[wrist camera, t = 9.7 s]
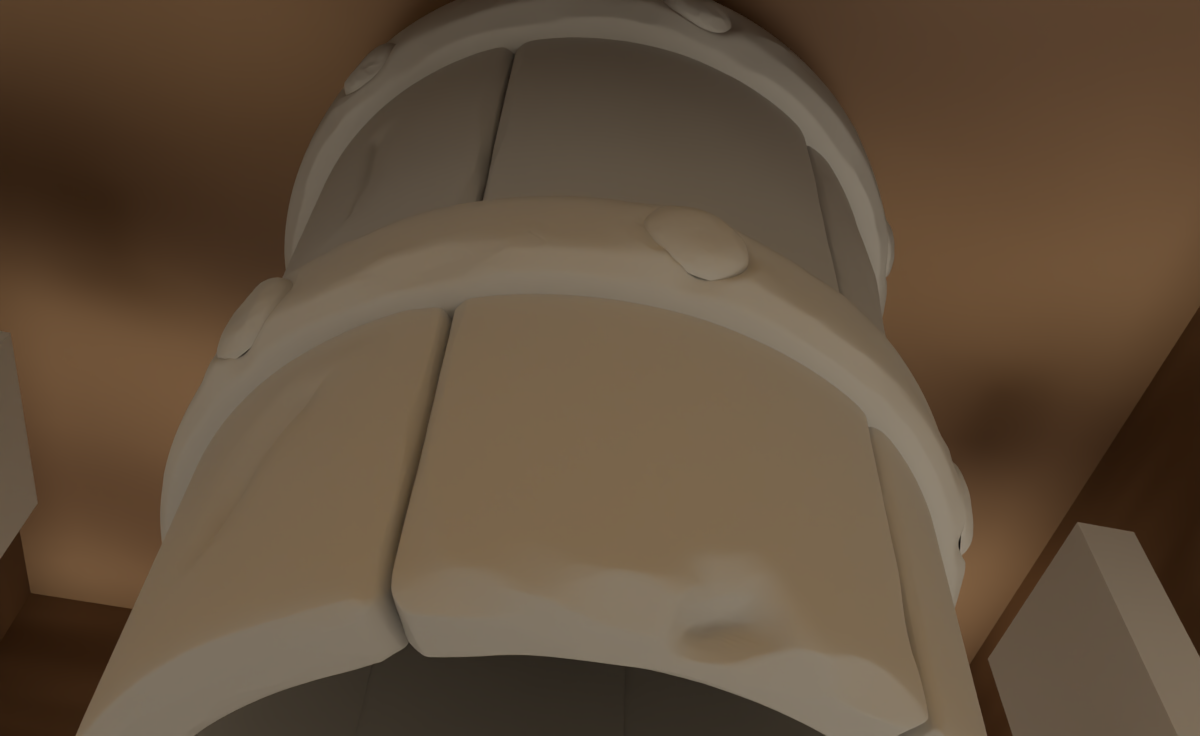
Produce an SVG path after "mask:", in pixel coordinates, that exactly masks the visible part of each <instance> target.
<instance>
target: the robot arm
mask: <svg viewBox="0 0 1200 736" xmlns="http://www.w3.org/2000/svg"><path fill="white" fill-rule="evenodd" d="M37 504H38V502H37V495H36V489H35V483H34V476H33V470H32V464H31V458H30V451H29V445H28V439H27V433H26V426H25V420H24V414H23V408H22V401H21V395H20V389H19V382H18V376H17V370H16V364H15V357H14V351H13V345H12V339H11V333H8V332H3V331H0V558H1V557H2V556H3V554H4V553H5V551H6V550H7V548H8V547H9V545H10V544H11V542H12V541H13V539H14V538H15V536H16V535H17V533H18V532H19V530H20V529H21V527H22V526H23V524H24V523H25V521H26V520H27V518H28V517H29V515H30V514H31V513H32V511H33V510H34V508H35V507H36V505H37ZM988 661H989V664H990V667H991V670H992V673H993V676H994V679H995V682H996V686H997V689H998V692H999V695H1000V698H1001V701H1002V704H1003V707H1004V710H1005V713H1006V716H1007V719H1008V723H1009V726H1010V729H1011V732H1012V735H1013V736H1200V657H1199V655H1198V653H1197V651H1196V649H1195V647H1194V645H1193V643H1192V642H1191V640H1190V638H1189V636H1188V634H1187V632H1186V630H1185V628H1184V626H1183V624H1182V622H1181V621H1180V619H1179V617H1178V615H1177V613H1176V611H1175V609H1174V607H1173V605H1172V603H1171V602H1170V600H1169V598H1168V596H1167V594H1166V592H1165V590H1164V588H1163V586H1162V584H1161V583H1160V581H1159V579H1158V577H1157V575H1156V573H1155V571H1154V569H1153V567H1152V565H1151V564H1150V562H1149V560H1148V558H1147V556H1146V554H1145V552H1144V550H1143V548H1142V546H1141V545H1140V543H1139V541H1138V539H1137V537H1136V535H1135V533H1134V532H1131V531H1125V530H1120V529H1114V528H1108V527H1103V526H1097V525H1092V524H1086V523H1080V522H1077V523H1076V525H1075V526H1074V528H1073V529H1072V531H1071V533H1070V534H1069V536H1068V537H1067V539H1066V540H1065V542H1064V543H1063V545H1062V546H1061V548H1060V549H1059V551H1058V552H1057V554H1056V555H1055V557H1054V558H1053V560H1052V562H1051V563H1050V565H1049V566H1048V568H1047V569H1046V571H1045V572H1044V574H1043V575H1042V577H1041V578H1040V580H1039V581H1038V583H1037V584H1036V586H1035V587H1034V589H1033V591H1032V592H1031V594H1030V595H1029V597H1028V598H1027V600H1026V601H1025V603H1024V604H1023V606H1022V607H1021V609H1020V610H1019V612H1018V613H1017V615H1016V616H1015V618H1014V620H1013V621H1012V623H1011V624H1010V626H1009V627H1008V629H1007V630H1006V632H1005V633H1004V635H1003V636H1002V638H1001V639H1000V641H999V642H998V644H997V645H996V647H995V649H994V650H993V652H992V653H991V655H990V656H989V658H988Z"/></svg>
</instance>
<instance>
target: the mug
mask: <svg viewBox="0 0 1200 736" xmlns="http://www.w3.org/2000/svg"><path fill="white" fill-rule="evenodd" d="M284 254H285V267H286V271H285V273H284V275H283V277H282V278H279V277H276V278H270V279H267V280H265V281H263V282H261V283H260V284H259V285H258V286H257V287H256V288H255V289H254V290H253V292H252V293H251V294H250V295H249V296H248V297H247V298H246V300H245V301H244V302H243V303H242V304H241V306H240V307H239V308H238V309H237V310H236V312H235V313H234V314H233V316H232V317H231V319H230V320H229V322H228V324H227V325H226V327H225V329H224V331H223V333H222V335H221V337H220V341H219V344H218V347H217V353H216V355H215V356H214V358H213V359H212V361H211V362H210V364H209V366H208V368H207V371H206V373H205V376H204V378H203V381H202V383H201V385H200V387H199V388H198V390H197V392H196V394H195V395H194V397H193V399H192V401H191V403H190V404H189V406H188V408H187V410H186V412H185V414H184V416H183V418H182V421H181V423H180V425H179V427H178V430H177V432H176V435H175V437H174V440H173V443H172V446H171V449H170V452H169V455H168V459H167V463H166V467H165V471H164V477H163V487H162V494H161V506H160V525H161V539H162V545H161V547H160V549H159V551H158V554H157V556H156V558H155V560H154V562H153V565H152V567H151V569H150V571H149V574H148V576H147V578H146V580H145V582H144V585H143V587H142V589H141V591H140V593H139V596H138V598H137V600H136V602H135V604H134V607H133V609H132V611H131V613H130V616H129V618H128V620H127V622H126V624H125V627H124V629H123V631H122V633H121V635H120V638H119V640H118V642H117V644H116V646H115V649H114V651H113V653H112V655H111V658H110V660H109V662H108V664H107V666H106V669H105V671H104V673H103V675H102V677H101V680H100V682H99V684H98V686H97V688H96V691H95V693H94V695H93V697H92V700H91V702H90V704H89V706H88V708H87V711H86V713H85V715H84V717H83V720H82V722H81V724H80V726H79V729H78V731H77V734H76V736H987V733H986V729H985V725H984V721H983V717H982V713H981V709H980V706H979V702H978V698H977V694H976V690H975V686H974V682H973V678H972V674H971V670H970V666H969V662H968V658H967V655H966V651H965V647H964V643H963V639H962V635H961V631H960V627H959V623H958V619H957V615H956V611H955V606H956V603H957V599H958V596H959V592H960V588H961V585H962V581H963V577H964V573H965V560H964V559H963V557H962V555H963V554H964V553H965V552H966V551H967V549H968V548H969V546H970V544H971V542H972V538H973V514H972V507H971V499H970V494H969V490H968V487H967V485H966V482H965V480H964V477H963V475H962V473H961V471H960V469H959V468H958V466H957V465H956V464H955V463H953V462H952V458H951V455H950V451H949V448H948V446H947V445H946V443H945V441H944V440H943V438H942V436H941V434H940V432H939V430H938V427H937V425H936V422H935V419H934V417H933V414H932V412H931V410H930V407H929V405H928V403H927V401H926V399H925V397H924V395H923V393H922V391H921V389H920V387H919V385H918V383H917V382H916V380H915V378H914V376H913V375H912V373H911V372H910V370H909V368H908V367H907V365H906V364H905V362H904V361H903V359H902V358H901V356H900V355H899V353H898V352H897V351H896V349H895V348H894V347H893V345H892V344H891V343H890V342H889V341H888V339H887V338H886V335H885V330H884V325H883V319H882V318H883V313H884V308H885V302H886V296H887V281H886V277H887V276H888V275H889V273H890V271H891V269H892V265H893V261H894V237H893V232H892V229H891V226H890V225H889V223H888V221H887V220H886V217H885V213H884V209H883V204H882V200H881V196H880V192H879V189H878V185H877V182H876V178H875V175H874V173H873V170H872V167H871V164H870V162H869V159H868V157H867V154H866V152H865V150H864V147H863V145H862V143H861V140H860V138H859V136H858V134H857V131H856V129H855V128H854V126H853V125H852V123H851V121H850V120H849V118H848V116H847V115H846V113H845V111H844V110H843V108H842V107H841V105H840V104H839V102H838V101H837V99H836V98H835V97H834V95H833V94H832V93H831V91H830V90H829V89H828V88H827V87H826V85H825V84H824V83H823V82H822V81H821V80H820V78H819V77H818V76H817V75H816V74H815V73H814V72H813V71H812V70H811V69H810V68H809V67H808V66H807V65H806V64H805V63H804V62H803V61H802V60H801V59H800V58H799V57H798V56H797V55H796V54H795V53H794V52H793V51H792V50H790V49H789V48H788V47H787V46H786V45H784V44H783V43H782V42H781V41H779V40H778V39H777V38H775V37H774V36H773V35H771V34H770V33H769V32H767V31H766V30H764V29H763V28H761V27H760V26H758V25H757V24H755V23H754V22H752V21H750V20H749V19H747V18H746V17H744V16H742V15H740V14H738V13H737V12H735V11H733V10H731V9H729V8H727V7H725V6H723V5H721V4H719V3H716V2H715V1H713V0H455V1H453V2H450V3H448V4H446V5H444V6H442V7H440V8H438V9H436V10H434V11H432V12H431V13H429V14H427V15H425V16H424V17H422V18H420V19H419V20H417V21H415V22H414V23H412V24H411V25H409V26H408V27H406V28H405V29H403V30H402V31H401V32H399V33H398V34H397V35H395V36H394V37H393V38H392V39H390V40H389V41H388V42H387V43H385V44H382V45H380V46H378V47H376V48H375V49H374V50H372V51H371V52H370V53H369V54H368V55H367V56H366V57H365V58H364V59H363V61H362V62H361V63H360V64H359V65H358V67H357V68H356V69H355V70H354V71H353V72H352V73H351V74H350V76H349V77H348V78H347V80H346V81H345V83H344V87H343V89H342V90H341V92H340V93H339V94H338V96H337V97H336V99H335V100H334V102H333V103H332V104H331V106H330V108H329V109H328V111H327V112H326V114H325V115H324V117H323V119H322V121H321V122H320V124H319V126H318V128H317V130H316V132H315V133H314V135H313V137H312V139H311V142H310V144H309V146H308V148H307V150H306V153H305V155H304V157H303V160H302V163H301V165H300V168H299V171H298V174H297V177H296V180H295V183H294V186H293V190H292V194H291V198H290V203H289V208H288V214H287V221H286V229H285V246H284Z"/></svg>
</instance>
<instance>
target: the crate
mask: <svg viewBox="0 0 1200 736" xmlns="http://www.w3.org/2000/svg"><path fill="white" fill-rule="evenodd" d="M453 1H455V0H0V331H3V332H8V333H11V339H12V345H13V351H14V357H15V364H16V370H17V376H18V382H19V389H20V395H21V401H22V408H23V414H24V420H25V426H26V433H27V439H28V445H29V451H30V458H31V464H32V470H33V476H34V483H35V489H36V495H37V502H38V504H37V505H36V507H35V508H34V510H33V511H32V513H31V514H30V515H29V517H28V518H27V520H26V521H25V523H24V524H23V526H22V527H21V529H20V530H19V532H18V533H17V535H16V536H15V538H14V539H13V541H12V542H11V544H10V545H9V547H8V548H7V550H6V551H5V553H4V554H3V556H2V557H1V558H0V736H76V734H77V731H78V729H79V726H80V724H81V722H82V720H83V717H84V715H85V713H86V711H87V708H88V706H89V704H90V702H91V700H92V697H93V695H94V693H95V691H96V688H97V686H98V684H99V682H100V680H101V677H102V675H103V673H104V671H105V669H106V666H107V664H108V662H109V660H110V658H111V655H112V653H113V651H114V649H115V646H116V644H117V642H118V640H119V638H120V635H121V633H122V631H123V629H124V627H125V624H126V622H127V620H128V618H129V616H130V613H131V611H132V609H133V607H134V604H135V602H136V600H137V598H138V596H139V593H140V591H141V589H142V587H143V585H144V582H145V580H146V578H147V576H148V574H149V571H150V569H151V567H152V565H153V562H154V560H155V558H156V556H157V554H158V551H159V549H160V547H161V545H162V539H161V525H160V506H161V494H162V487H163V477H164V471H165V467H166V463H167V459H168V455H169V452H170V449H171V446H172V443H173V440H174V437H175V435H176V432H177V430H178V427H179V425H180V423H181V421H182V418H183V416H184V414H185V412H186V410H187V408H188V406H189V404H190V403H191V401H192V399H193V397H194V395H195V394H196V392H197V390H198V388H199V387H200V385H201V383H202V381H203V378H204V376H205V373H206V371H207V368H208V366H209V364H210V362H211V361H212V359H213V358H214V356H215V355H216V353H217V347H218V344H219V341H220V337H221V335H222V333H223V331H224V329H225V327H226V325H227V324H228V322H229V320H230V319H231V317H232V316H233V314H234V313H235V312H236V310H237V309H238V308H239V307H240V306H241V304H242V303H243V302H244V301H245V300H246V298H247V297H248V296H249V295H250V294H251V293H252V292H253V290H254V289H255V288H256V287H257V286H258V285H259V284H260V283H261V282H263V281H265V280H267V279H270V278H276V277H279V278H282V277H283V275H284V273H285V271H286V267H285V254H284V246H285V229H286V221H287V214H288V208H289V203H290V198H291V194H292V190H293V186H294V183H295V180H296V177H297V174H298V171H299V168H300V165H301V163H302V160H303V157H304V155H305V153H306V150H307V148H308V146H309V144H310V142H311V139H312V137H313V135H314V133H315V132H316V130H317V128H318V126H319V124H320V122H321V121H322V119H323V117H324V115H325V114H326V112H327V111H328V109H329V108H330V106H331V104H332V103H333V102H334V100H335V99H336V97H337V96H338V94H339V93H340V92H341V90H342V89H343V87H344V83H345V81H346V80H347V78H348V77H349V76H350V74H351V73H352V72H353V71H354V70H355V69H356V68H357V67H358V65H359V64H360V63H361V62H362V61H363V59H364V58H365V57H366V56H367V55H368V54H369V53H370V52H371V51H372V50H374V49H375V48H376V47H378V46H380V45H382V44H385V43H387V42H388V41H389V40H390V39H392V38H393V37H394V36H395V35H397V34H398V33H399V32H401V31H402V30H403V29H405V28H406V27H408V26H409V25H411V24H412V23H414V22H415V21H417V20H419V19H420V18H422V17H424V16H425V15H427V14H429V13H431V12H432V11H434V10H436V9H438V8H440V7H442V6H444V5H446V4H448V3H450V2H453ZM713 1H715V2H716V3H719V4H721V5H723V6H725V7H727V8H729V9H731V10H733V11H735V12H737V13H738V14H740V15H742V16H744V17H746V18H747V19H749V20H750V21H752V22H754V23H755V24H757V25H758V26H760V27H761V28H763V29H764V30H766V31H767V32H769V33H770V34H771V35H773V36H774V37H775V38H777V39H778V40H779V41H781V42H782V43H783V44H784V45H786V46H787V47H788V48H789V49H790V50H792V51H793V52H794V53H795V54H796V55H797V56H798V57H799V58H800V59H801V60H802V61H803V62H804V63H805V64H806V65H807V66H808V67H809V68H810V69H811V70H812V71H813V72H814V73H815V74H816V75H817V76H818V77H819V78H820V80H821V81H822V82H823V83H824V84H825V85H826V87H827V88H828V89H829V90H830V91H831V93H832V94H833V95H834V97H835V98H836V99H837V101H838V102H839V104H840V105H841V107H842V108H843V110H844V111H845V113H846V115H847V116H848V118H849V120H850V121H851V123H852V125H853V126H854V128H855V129H856V131H857V134H858V136H859V138H860V140H861V143H862V145H863V147H864V150H865V152H866V154H867V157H868V159H869V162H870V164H871V167H872V170H873V173H874V175H875V178H876V182H877V185H878V189H879V192H880V196H881V200H882V204H883V209H884V213H885V217H886V220H887V221H888V223H889V225H890V226H891V229H892V232H893V237H894V261H893V265H892V269H891V271H890V273H889V275H888V276H887V277H886V281H887V296H886V302H885V308H884V313H883V318H882V319H883V325H884V330H885V335H886V338H887V339H888V341H889V342H890V343H891V344H892V345H893V347H894V348H895V349H896V351H897V352H898V353H899V355H900V356H901V358H902V359H903V361H904V362H905V364H906V365H907V367H908V368H909V370H910V372H911V373H912V375H913V376H914V378H915V380H916V382H917V383H918V385H919V387H920V389H921V391H922V393H923V395H924V397H925V399H926V401H927V403H928V405H929V407H930V410H931V412H932V414H933V417H934V419H935V422H936V425H937V427H938V430H939V432H940V434H941V436H942V438H943V440H944V441H945V443H946V445H947V446H948V448H949V451H950V455H951V458H952V462H953V463H955V464H956V465H957V466H958V468H959V469H960V471H961V473H962V475H963V477H964V480H965V482H966V485H967V487H968V490H969V494H970V499H971V507H972V514H973V538H972V542H971V544H970V546H969V548H968V549H967V551H966V552H965V553H964V554H963V555H962V557H963V559H964V560H965V573H964V577H963V581H962V585H961V588H960V592H959V596H958V599H957V603H956V606H955V611H956V615H957V619H958V623H959V627H960V631H961V635H962V639H963V643H964V647H965V651H966V655H967V658H968V662H969V666H970V670H971V674H972V678H973V682H974V686H975V690H976V694H977V698H978V702H979V706H980V709H981V713H982V717H983V721H984V725H985V729H986V733H987V736H1013V735H1012V732H1011V729H1010V726H1009V723H1008V719H1007V716H1006V713H1005V710H1004V707H1003V704H1002V701H1001V698H1000V695H999V692H998V689H997V686H996V682H995V679H994V676H993V673H992V670H991V667H990V664H989V661H988V658H989V656H990V655H991V653H992V652H993V650H994V649H995V647H996V645H997V644H998V642H999V641H1000V639H1001V638H1002V636H1003V635H1004V633H1005V632H1006V630H1007V629H1008V627H1009V626H1010V624H1011V623H1012V621H1013V620H1014V618H1015V616H1016V615H1017V613H1018V612H1019V610H1020V609H1021V607H1022V606H1023V604H1024V603H1025V601H1026V600H1027V598H1028V597H1029V595H1030V594H1031V592H1032V591H1033V589H1034V587H1035V586H1036V584H1037V583H1038V581H1039V580H1040V578H1041V577H1042V575H1043V574H1044V572H1045V571H1046V569H1047V568H1048V566H1049V565H1050V563H1051V562H1052V560H1053V558H1054V557H1055V555H1056V554H1057V552H1058V551H1059V549H1060V548H1061V546H1062V545H1063V543H1064V542H1065V540H1066V539H1067V537H1068V536H1069V534H1070V533H1071V531H1072V529H1073V528H1074V526H1075V525H1076V523H1077V522H1080V523H1086V524H1092V525H1097V526H1103V527H1108V528H1114V529H1120V530H1125V531H1131V532H1134V533H1135V535H1136V537H1137V539H1138V541H1139V543H1140V545H1141V546H1142V548H1143V550H1144V552H1145V554H1146V556H1147V558H1148V560H1149V562H1150V564H1151V565H1152V567H1153V569H1154V571H1155V573H1156V575H1157V577H1158V579H1159V581H1160V583H1161V584H1162V586H1163V588H1164V590H1165V592H1166V594H1167V596H1168V598H1169V600H1170V602H1171V603H1172V605H1173V607H1174V609H1175V611H1176V613H1177V615H1178V617H1179V619H1180V621H1181V622H1182V624H1183V626H1184V628H1185V630H1186V632H1187V634H1188V636H1189V638H1190V640H1191V642H1192V643H1193V645H1194V647H1195V649H1196V651H1197V653H1198V655H1199V657H1200V0H713Z"/></svg>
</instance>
